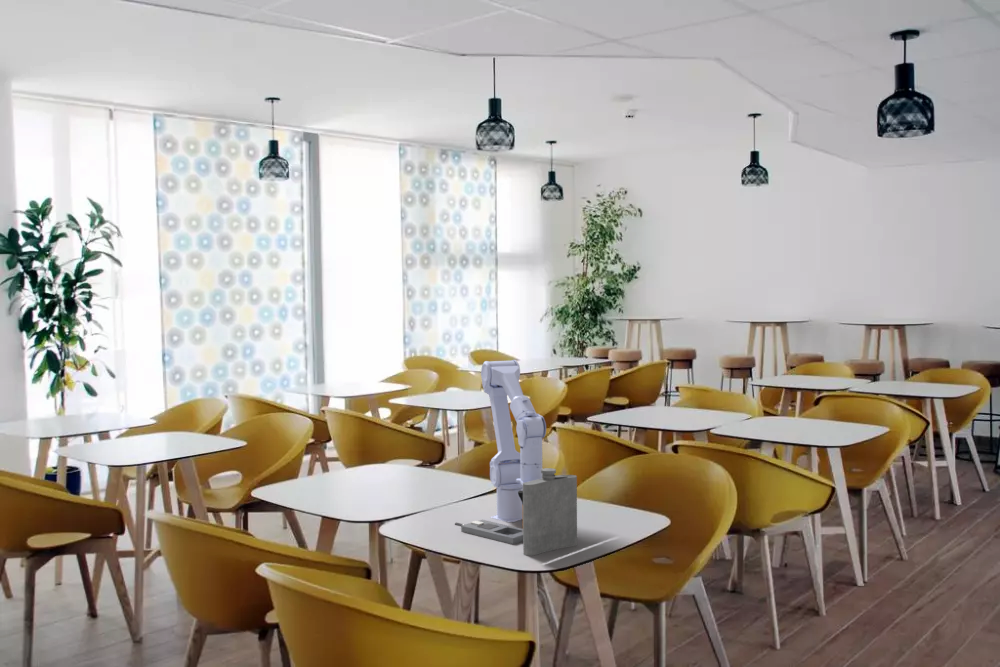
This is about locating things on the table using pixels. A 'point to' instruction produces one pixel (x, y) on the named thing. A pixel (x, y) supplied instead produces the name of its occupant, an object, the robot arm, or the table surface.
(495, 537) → the power strip
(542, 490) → the hip flask
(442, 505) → the table surface
